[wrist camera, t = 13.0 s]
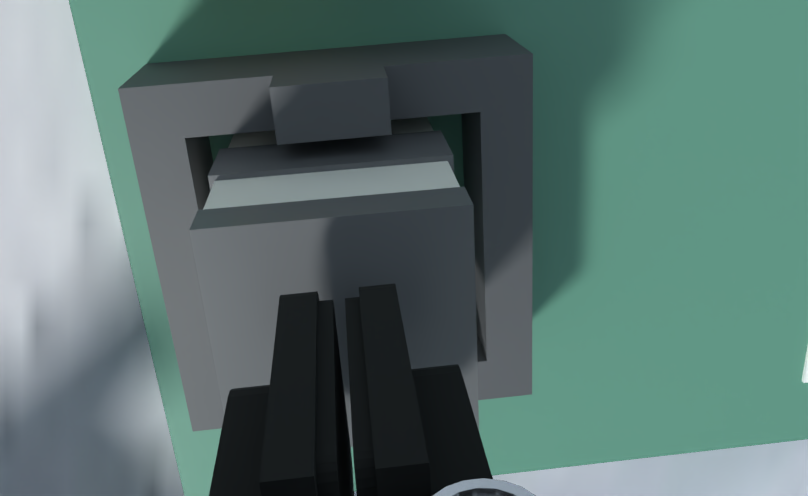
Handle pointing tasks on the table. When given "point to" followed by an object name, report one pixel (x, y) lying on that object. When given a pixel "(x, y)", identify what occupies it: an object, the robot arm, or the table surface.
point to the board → (506, 196)
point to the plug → (337, 245)
